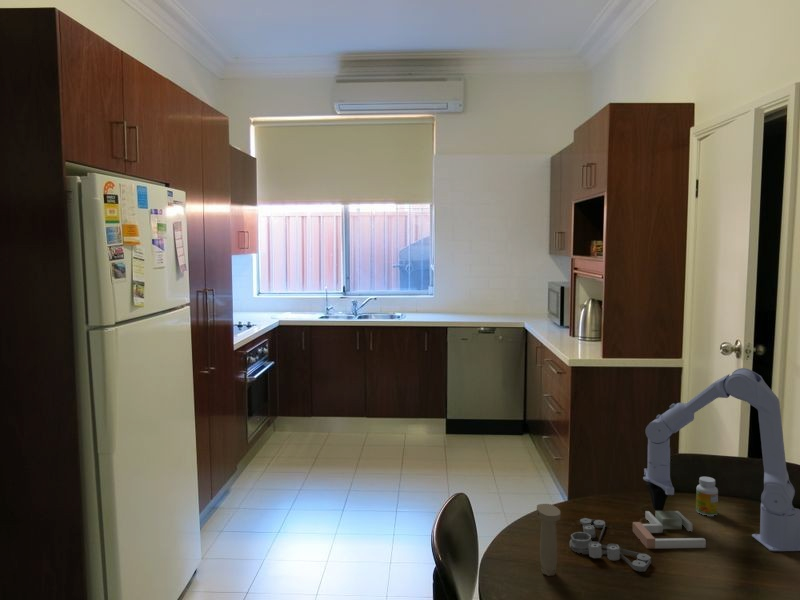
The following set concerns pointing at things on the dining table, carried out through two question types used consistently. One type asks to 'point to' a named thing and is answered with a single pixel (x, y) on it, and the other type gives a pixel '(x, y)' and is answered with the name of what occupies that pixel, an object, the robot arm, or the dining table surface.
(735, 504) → the dining table surface
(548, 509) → the handle
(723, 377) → the robot arm
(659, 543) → the channel
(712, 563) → the dining table surface
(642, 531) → the block
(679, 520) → the block
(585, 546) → the pulley system
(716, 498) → the supplement bottle
